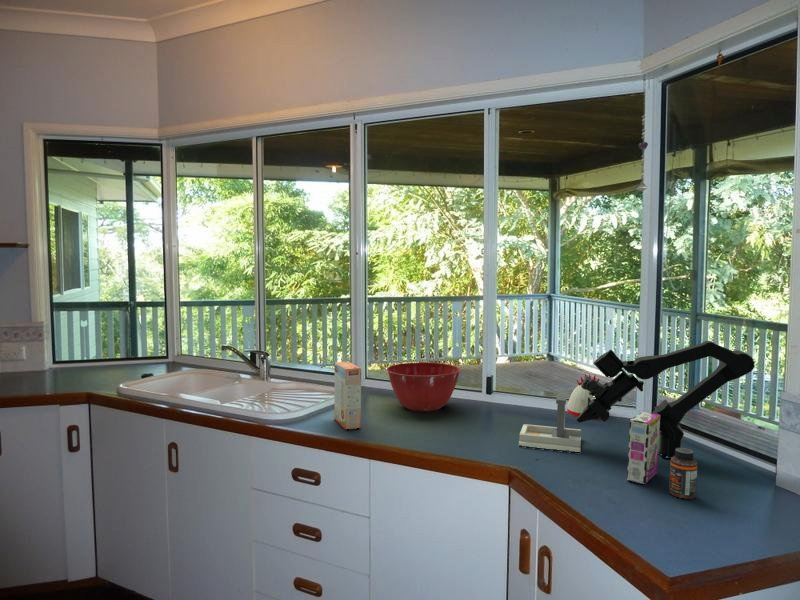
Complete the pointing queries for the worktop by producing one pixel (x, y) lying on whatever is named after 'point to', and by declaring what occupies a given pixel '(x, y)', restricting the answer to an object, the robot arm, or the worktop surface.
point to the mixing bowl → (423, 384)
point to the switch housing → (549, 438)
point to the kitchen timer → (579, 399)
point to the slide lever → (561, 417)
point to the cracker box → (347, 395)
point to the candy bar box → (643, 447)
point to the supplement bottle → (683, 474)
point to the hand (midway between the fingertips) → (577, 421)
